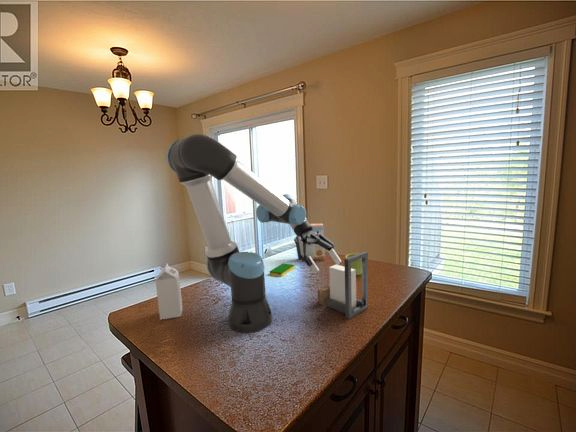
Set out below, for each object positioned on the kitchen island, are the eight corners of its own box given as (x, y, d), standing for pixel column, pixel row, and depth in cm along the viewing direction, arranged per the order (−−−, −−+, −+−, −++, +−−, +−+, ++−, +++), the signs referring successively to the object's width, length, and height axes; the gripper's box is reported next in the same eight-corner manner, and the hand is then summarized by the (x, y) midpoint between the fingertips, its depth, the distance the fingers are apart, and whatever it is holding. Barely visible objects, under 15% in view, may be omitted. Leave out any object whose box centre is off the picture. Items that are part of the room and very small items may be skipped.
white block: (349, 312, 100) (349, 272, 98) (330, 304, 107) (329, 267, 105) (356, 308, 103) (355, 269, 101) (336, 301, 109) (336, 264, 107)
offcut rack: (349, 319, 96) (348, 259, 93) (323, 308, 104) (321, 253, 101) (368, 307, 103) (367, 252, 100) (342, 298, 112) (341, 247, 109)
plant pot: (369, 274, 136) (369, 257, 134) (353, 278, 132) (352, 260, 131) (357, 269, 144) (357, 252, 143) (342, 272, 141) (341, 255, 140)
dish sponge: (294, 268, 151) (294, 264, 150) (281, 277, 139) (281, 273, 138) (283, 267, 154) (282, 263, 154) (269, 275, 142) (269, 271, 142)
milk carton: (160, 320, 101) (153, 270, 99) (163, 311, 108) (157, 264, 105) (180, 316, 103) (175, 267, 100) (182, 308, 110) (177, 261, 107)
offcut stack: (323, 305, 107) (323, 290, 106) (318, 303, 109) (317, 288, 108) (337, 298, 112) (336, 284, 111) (331, 296, 114) (330, 282, 113)
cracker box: (324, 257, 166) (323, 223, 163) (324, 260, 160) (323, 224, 157) (300, 258, 168) (299, 223, 165) (300, 261, 162) (298, 225, 159)
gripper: (316, 226, 129) (342, 264, 121) (274, 236, 113) (301, 281, 105) (324, 215, 125) (353, 255, 116) (282, 224, 108) (311, 271, 100)
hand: (328, 267), depth 110 cm, fingers open, 13 cm apart
